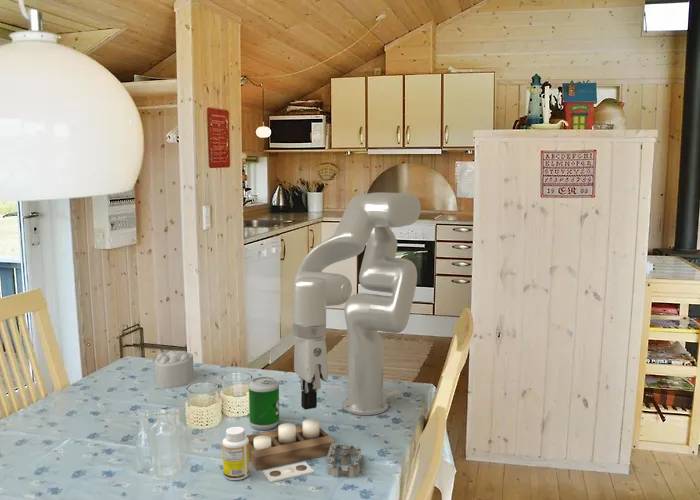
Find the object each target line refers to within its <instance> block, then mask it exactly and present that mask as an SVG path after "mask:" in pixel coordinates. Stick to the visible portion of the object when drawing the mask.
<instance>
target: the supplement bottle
mask: <svg viewBox="0 0 700 500" xmlns="http://www.w3.org/2000/svg"><path fill="white" fill-rule="evenodd" d="M245 431H246V430H245V428H244V427H242V426H232V427H231V426H230V427H229V428H227V429H226V430H225V437H224V438H223V439H222V443H221V446H222V466H223V467H222V469H223V476H224V478H226V480H229V481H241V480H243V479H246V478H247V477H248V476H249V474H250V462H249V440H248V438H247V437H246V436H247V435H246V432H245Z"/></svg>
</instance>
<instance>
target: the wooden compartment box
mask: <svg viewBox="0 0 700 500" xmlns="http://www.w3.org/2000/svg"><path fill="white" fill-rule="evenodd" d="M295 426H296V442H295V443H290V444H285V445H283V444H280V443H279V438H278V429H274V430H267V431H263V432H257V433H253V434H248V435H245V436H246V437H247V438H248V440H249V464H250V465H251V466H252V467H253V469H254V470H255V471H261V470H267V469H272V468H276V467H281V466H286V465H288V464H289V465H290V464H295V463H300V462H304V461H308V460H311V459H316V458H321V457H327V455H328V451H329V449H330V446H331V443H332V442H333V443H336V441H335V440H334V439H333V438H332V437H331V436H330V435H329V434H328V433H326V432H325V430H323V429H322V427H320V426H319V429H320V437H319V438H315V439H310V440H306V439H304V438H303V427H302V424H300V425H295ZM257 436H269V437H271V447H270V448H265V449H260V450H255V449H254V438H255V437H257Z"/></svg>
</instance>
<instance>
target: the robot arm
mask: <svg viewBox="0 0 700 500" xmlns="http://www.w3.org/2000/svg"><path fill="white" fill-rule="evenodd" d="M421 210H422V208H421V203H420V199H419V198H418V196H417V195H415V194H413V193H410V192H409V193H407V192H379V191H378V192H370V193H362V194H357V195H355V196H353V197H352V198H351V199H350V201H349V203H347V206H346V208H345V210H344V213H343V215H342V217H341V219H340V221H339V223H338V225H337V227H336V229H335V231H334V233H333V235H332V236H330V237H328V238H327V239H324V241H322V242H321V243H319V244H318V245H317V246H314V248H313V249H311V250H310V251H309V252H308V253H307V254H306V255H305V256H304V258H303V260H302V261H301V263H300V265H299V267H298V269H297V271H296V273H295V275H294V276H295V277H294V279H293V284H292V290H293V314H292V315H293V317H292V318H293V320H292V321H293V328H292V329H293V332H292V333H293V334H292V335H293V339H295V340H294V350H293V351H294V352H293V355H294V356H293V368H294V369H293V370H294V373H295V374H296V375H297V377H298V378H299V380H300V389H301V397H300V398H301V403H300V404H301V406H300V407H301V408H302V409H303V410H311V409H317V407H318V406H317V404H318V401H317V400H318V399H317V398H318V397H317V396H318V395H317V394H318V390H319V389H321V387H322V386H321V385H322V383H321V381H323V382H326V381H327V380H328V379H329V377H328V376H329V371H328V370H329V369H328V368H329V367H328V351H327V350H328V349H327V342H326V338H327V307H330V306H340V305H343V304H344V303H345V304H344V319H345V323H346V331H347V351H348V352H347V353H348V354H347V356H348V357H347V376H348V377H347V388H348V389H347V394H348V395H347V398H345V399H344V400H343V401H342V409H343V410H345V412H348V413H350V414H353V415H357V416H358V415H359V416H360V415H361V416H373V415H378V414H383V413H384V412H386V411H387V410H388V409H389V402H388V400H389V399H390V398H397V397H399V394H400V393H399V390H398V389H392V390H390V388H385V389H384V344H383V343H384V342H383V340H382V337H381V335H380V333H379V332H383V333H391V334H399V333H402V332H403V331H405V329H406V327H407V326H408V323H409V321H410V320H409V319H410V314H411V310H412V305H413V301H414V298H415V293H416V289H417V282H418V270H417V267H416V265H415V263H414V262H413V261H412V260H409V259H408V258H407V259H406V258H400V257H399V258H398V257H396V254H397V250H398V240H397V238H396V235H395V234H394V232H393V231H392V229H391V228H393V229H394V228H402V227H407V226H411V225H413V224H415V223H417V221H418V219H419V217H420V215H421ZM363 252H364V254H363V258H362V262H361V266H360V269H359V275H358V281H359V285H360V286H361V287H362V288H363V289H365V290H368V291H372V292H373V291H374V292H378V293H379V292H380V293H387V294H388V293H390V294H392V296H390V295H383V294H382V295H381V294H377V293H376V294H374V293H367V292H365V293H362V292H360V293H354V294H352V290H353V286H352V282H351V281H350V280H351V279H349V278H348V277H347V276H345V275H344V274H339V273H334V272H325V271H323V270H325V269H326V268H327V267H329V266H331V265H333V264H335V263H339V262H341V261H345V260H348V259H351V258H354V257H357V256H359V255H360V254H362V253H363Z"/></svg>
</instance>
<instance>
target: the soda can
mask: <svg viewBox="0 0 700 500" xmlns="http://www.w3.org/2000/svg"><path fill="white" fill-rule="evenodd" d="M248 404H249V405H248V406H249V407H248V408H249V410H248V412H249V415H248V416H249V425H250V426H252V428H253V429H255V430H257V431H271V430H273V429H275V428H276V427H277V425H278V424H279V423H280V384H279V382H278V381H277V380H276V379H275V378H274V377H271V376H259V377H256V378H253V379H252V381H250V383H249V384H248Z"/></svg>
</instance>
